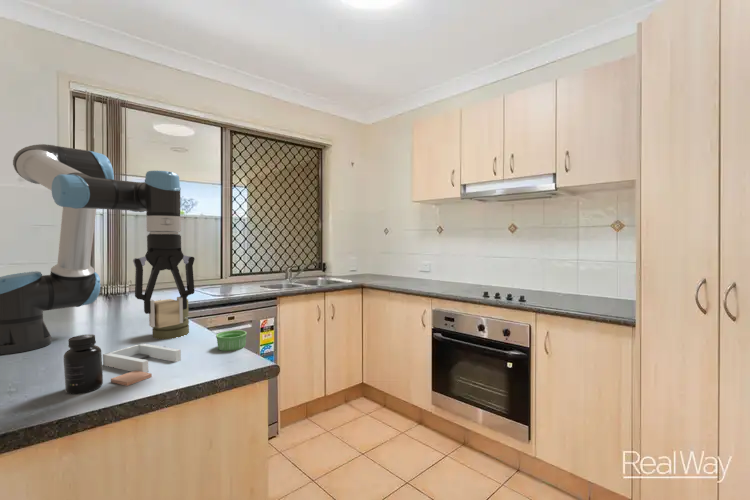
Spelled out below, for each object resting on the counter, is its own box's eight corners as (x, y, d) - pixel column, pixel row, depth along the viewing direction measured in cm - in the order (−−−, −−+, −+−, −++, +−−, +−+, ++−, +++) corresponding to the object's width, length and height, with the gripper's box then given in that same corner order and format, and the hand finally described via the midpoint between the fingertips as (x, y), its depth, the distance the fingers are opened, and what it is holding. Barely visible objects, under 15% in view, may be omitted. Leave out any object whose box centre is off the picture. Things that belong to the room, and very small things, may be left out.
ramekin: (245, 342, 122) (245, 328, 122) (248, 349, 114) (248, 335, 114) (215, 345, 118) (215, 332, 118) (216, 353, 110) (216, 339, 110)
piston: (151, 300, 133) (187, 297, 138) (152, 333, 133) (188, 329, 139) (151, 305, 123) (189, 302, 129) (152, 341, 123) (190, 336, 129)
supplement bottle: (79, 383, 88) (77, 333, 88) (109, 382, 89) (107, 332, 88) (57, 395, 81) (54, 341, 81) (90, 394, 82) (88, 340, 81)
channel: (103, 365, 100) (102, 354, 100) (142, 353, 110) (142, 343, 110) (142, 373, 94) (142, 362, 94) (180, 360, 104) (180, 349, 104)
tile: (110, 382, 89) (110, 378, 89) (135, 373, 94) (135, 370, 94) (127, 385, 86) (127, 382, 86) (151, 376, 92) (151, 373, 92)
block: (150, 324, 95) (149, 301, 95) (170, 321, 99) (169, 299, 99) (159, 327, 92) (158, 303, 92) (179, 324, 96) (179, 301, 96)
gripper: (121, 233, 85) (124, 333, 86) (207, 233, 97) (209, 321, 98) (117, 233, 90) (120, 327, 91) (199, 233, 103) (201, 316, 104)
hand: (166, 323), depth 95 cm, fingers closed on block, 6 cm apart
